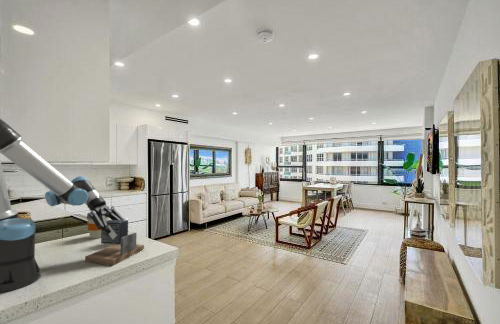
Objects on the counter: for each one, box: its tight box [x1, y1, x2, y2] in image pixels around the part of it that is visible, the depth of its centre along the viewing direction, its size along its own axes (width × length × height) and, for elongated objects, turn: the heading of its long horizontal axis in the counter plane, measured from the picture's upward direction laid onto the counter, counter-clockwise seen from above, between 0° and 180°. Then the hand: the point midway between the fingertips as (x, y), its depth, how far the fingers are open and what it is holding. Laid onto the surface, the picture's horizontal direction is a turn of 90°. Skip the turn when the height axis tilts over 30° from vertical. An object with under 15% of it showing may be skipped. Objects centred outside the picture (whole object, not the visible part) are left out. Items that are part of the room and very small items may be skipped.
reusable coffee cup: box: [86, 212, 110, 239], centre depth 148 cm, size 13×12×15 cm
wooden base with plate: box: [84, 232, 145, 266], centre depth 116 cm, size 20×16×10 cm
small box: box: [100, 219, 129, 245], centre depth 117 cm, size 11×6×10 cm, turn 83°
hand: (121, 235), depth 116 cm, fingers closed on small box, 7 cm apart
